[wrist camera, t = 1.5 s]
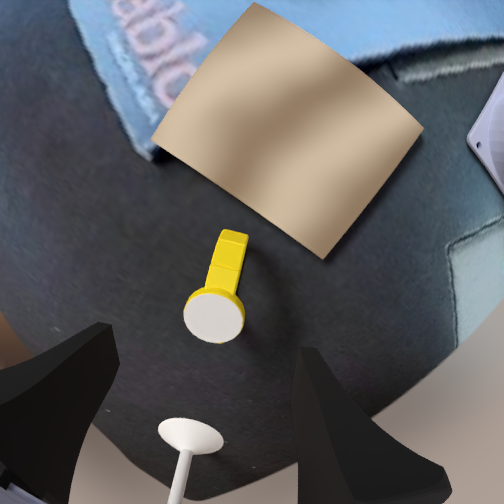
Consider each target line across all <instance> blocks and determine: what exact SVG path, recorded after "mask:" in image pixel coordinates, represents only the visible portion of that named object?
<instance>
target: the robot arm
mask: <svg viewBox="0 0 504 504" xmlns="http://www.w3.org/2000/svg"><path fill="white" fill-rule="evenodd" d="M467 143H468V145H469V146H470V147H471V149H472V150H473V151H474V153H475V154H476V155H477V157H478V158H479V159H480V161H481V162H482V163H483V165H484V166H485V168H486V169H487V170H488V172H489V173H490V175H491V176H492V178H493V179H494V181H495V182H496V184H497V185H498V187H499V188H500V190H501V191H502V193H503V195H504V72H503V74H502V76H501V78H500V80H499V81H498V83H497V85H496V87H495V89H494V91H493V93H492V94H491V96H490V98H489V100H488V102H487V103H486V105H485V107H484V109H483V110H482V112H481V114H480V115H479V117H478V119H477V120H476V122H475V124H474V125H473V127H472V129H471V130H470V132H469V133H468V135H467ZM477 143H478V149H477V146H476V144H477ZM119 365H120V362H119V357H118V353H117V349H116V344H115V339H114V335H113V330H112V325H111V324H106V323H101V322H98V323H96V324H94V325H92V326H90V327H88V328H86V329H85V330H83V331H81V332H79V333H78V334H76V335H74V336H73V337H71V338H69V339H67V340H66V341H64V342H62V343H61V344H59V345H57V346H55V347H53V348H51V349H50V350H48V351H46V352H44V353H42V354H40V355H38V356H36V357H34V358H32V359H30V360H28V361H25V362H22V363H20V364H17V365H15V366H12V367H8V368H5V369H2V370H0V504H68V502H69V495H70V488H71V483H72V479H73V475H74V470H75V466H76V463H77V459H78V456H79V453H80V450H81V446H82V444H83V441H84V438H85V436H86V433H87V430H88V428H89V426H90V424H91V422H92V420H93V418H94V417H95V415H96V413H97V411H98V409H99V407H100V406H101V404H102V402H103V400H104V398H105V396H106V395H107V393H108V391H109V389H110V387H111V385H112V383H113V381H114V378H115V376H116V373H117V370H118V368H119ZM291 411H292V419H293V427H294V434H295V442H296V450H297V459H298V504H442V503H444V502H445V501H446V500H447V499H448V498H449V496H450V495H451V493H452V488H451V485H450V482H449V479H448V476H447V474H446V472H445V470H444V468H443V467H442V466H440V465H438V464H436V463H434V462H432V461H430V460H428V459H426V458H424V457H422V456H420V455H418V454H417V453H415V452H413V451H412V450H410V449H409V448H407V447H405V446H404V445H402V444H401V443H399V442H398V441H397V440H395V439H394V438H393V437H392V436H390V435H389V434H388V433H386V432H385V431H384V430H382V429H381V428H380V427H379V426H378V425H377V424H376V423H375V422H373V421H372V420H371V419H370V418H369V417H368V416H367V415H366V414H365V413H364V412H363V411H362V410H361V408H360V407H359V406H358V405H357V404H356V403H355V402H354V400H353V399H352V398H351V397H350V396H349V394H348V393H347V392H346V391H345V389H344V388H343V387H342V385H341V384H340V383H339V381H338V380H337V379H336V377H335V376H334V374H333V373H332V371H331V370H330V368H329V367H328V365H327V364H326V362H325V361H324V359H323V358H322V356H321V354H320V353H319V351H318V350H317V349H316V348H305V347H300V348H299V352H298V357H297V362H296V367H295V371H294V376H293V380H292V385H291Z"/></svg>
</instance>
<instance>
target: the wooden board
mask: <svg viewBox="0 0 504 504" xmlns="http://www.w3.org/2000/svg"><path fill="white" fill-rule="evenodd" d="M423 129H424V128H423V127H422V126H421V125H420V124H419V123H418V122H417V121H416V120H415V119H414V118H413V117H412V116H411V115H410V114H409V113H408V112H407V111H406V110H405V109H404V108H403V107H402V106H401V105H400V104H399V103H398V102H397V101H396V100H394V99H393V98H392V97H391V96H390V95H389V94H388V93H387V92H386V91H384V90H383V89H382V88H381V87H380V86H379V85H377V84H376V83H375V82H374V81H373V80H372V79H370V78H369V77H368V76H367V75H365V74H364V73H363V72H362V71H361V70H359V69H358V68H357V67H355V66H354V65H353V64H352V63H350V62H349V61H348V60H346V59H345V58H344V57H342V56H341V55H340V54H338V53H337V52H335V51H334V50H333V49H331V48H330V47H328V46H327V45H326V44H324V43H323V42H321V41H320V40H318V39H317V38H315V37H314V36H312V35H311V34H309V33H307V32H306V31H304V30H303V29H301V28H300V27H298V26H296V25H295V24H293V23H291V22H290V21H288V20H286V19H285V18H283V17H281V16H279V15H278V14H276V13H274V12H272V11H270V10H268V9H267V8H265V7H263V6H261V5H259V4H257V3H255V2H253V3H252V5H251V6H250V7H249V8H248V9H247V10H246V11H245V12H244V13H243V14H242V15H241V17H240V18H239V19H238V20H237V21H236V22H235V23H234V25H233V26H232V27H231V28H230V29H229V30H228V32H227V33H226V34H225V35H224V36H223V38H222V39H221V40H220V41H219V42H218V44H217V45H216V46H215V47H214V49H213V50H212V51H211V52H210V54H209V55H208V56H207V57H206V59H205V60H204V61H203V63H202V64H201V65H200V67H199V68H198V69H197V71H196V72H195V73H194V75H193V76H192V77H191V79H190V80H189V82H188V83H187V84H186V86H185V87H184V89H183V90H182V92H181V93H180V94H179V96H178V97H177V99H176V100H175V102H174V103H173V105H172V106H171V108H170V109H169V111H168V112H167V114H166V115H165V117H164V118H163V120H162V122H161V123H160V125H159V126H158V128H157V130H156V131H155V133H154V134H153V136H152V138H151V139H150V140H151V141H153V142H154V143H156V144H157V145H159V146H160V147H162V148H163V149H165V150H166V151H168V152H170V153H171V154H173V155H174V156H176V157H177V158H179V159H180V160H182V161H183V162H185V163H186V164H188V165H189V166H191V167H192V168H194V169H195V170H197V171H198V172H200V173H201V174H203V175H204V176H205V177H207V178H208V179H210V180H211V181H213V182H214V183H216V184H217V185H219V186H220V187H222V188H223V189H225V190H226V191H227V192H229V193H230V194H232V195H233V196H235V197H236V198H238V199H239V200H240V201H242V202H243V203H245V204H246V205H248V206H249V207H250V208H252V209H253V210H255V211H256V212H258V213H259V214H260V215H262V216H263V217H265V218H266V219H268V220H269V221H270V222H272V223H273V224H275V225H276V226H277V227H279V228H280V229H282V230H283V231H284V232H286V233H287V234H288V235H290V236H291V237H293V238H294V239H295V240H297V241H298V242H300V243H301V244H302V245H304V246H305V247H306V248H308V249H309V250H311V251H312V252H313V253H315V254H316V255H317V256H319V257H320V258H321V259H324V258H325V256H326V255H327V254H328V253H329V252H330V250H331V249H332V248H333V247H334V246H335V244H336V243H337V242H338V241H339V240H340V238H341V237H342V236H343V235H344V233H345V232H346V231H347V230H348V228H349V227H350V226H351V225H352V224H353V222H354V221H355V220H356V219H357V217H358V216H359V215H360V213H361V212H362V211H363V210H364V208H365V207H366V206H367V205H368V203H369V202H370V201H371V199H372V198H373V197H374V196H375V194H376V193H377V192H378V190H379V189H380V188H381V186H382V185H383V184H384V183H385V181H386V180H387V179H388V177H389V176H390V175H391V173H392V172H393V171H394V169H395V168H396V167H397V165H398V164H399V163H400V161H401V160H402V158H403V157H404V156H405V154H406V153H407V152H408V150H409V149H410V147H411V146H412V145H413V143H414V142H415V140H416V139H417V138H418V136H419V135H420V133H421V132H422V131H423Z"/></svg>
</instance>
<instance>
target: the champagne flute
mask: <svg viewBox="0 0 504 504" xmlns="http://www.w3.org/2000/svg"><path fill="white" fill-rule="evenodd" d="M158 431H159V434H160V435H161V437H162V438H163V439H164V440H165V441H166V442H167V443H169V444H170V445H171V446H173V447H174V448H176V449H177V450H179V451H181V452H180V456H179V460H178V464H177V468H176V472H175V476H174V480H173V484H172V488H171V492H170V496H169V500H168V504H182V499H183V495H184V491H185V486H186V482H187V477H188V473H189V468H190V464H191V459H192V455H195V454H207V453H213V452H215V451H218V450H219V449H221V447H222V446H223V443H224V442H223V438H222V436H221V435H220V434H219V432H217V431H216V430H215V429H214V428H212V427H210V426H208V425H206V424H204V423H201V422H198V421H195V420H191V419H185V418H172V419H167V420H165V421H163V422H162V423H161V424H160V425H159V427H158Z"/></svg>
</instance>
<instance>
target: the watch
mask: <svg viewBox="0 0 504 504" xmlns="http://www.w3.org/2000/svg"><path fill="white" fill-rule="evenodd" d="M247 242H248V235H247V234H243V233H239V232H235V231H230V230H226V229H224V230H222V232H221V234H220V237H219V239H218V242H217V244H216V248H215V251H214V254H213V257H212V260H211V265H210V268H209V272H208V276H207V280H206V284H205V287H204V288H201V289H199V290H197V291H195V292H194V293H193V294H192V295H191V296H190V297H189V299H188V301H187V303H186V306H185V309H184V321H185V323H186V326H187V328H188V329H189V330H190V331H191V332H192V334H194V335H195V336H197V337H198V338H199V339H202V340H205V341H207V342H213V343H219V344H222V343H223V342H226V341H229V340H231V339H233V338H235V337H236V336H237V335H238V334H239V333H240V332H241V330H242V328H243V326H244V319H245V310H244V307H243V304H242V302H241V301H240V300H239V298H238V297H237V296H236V295H235V293H236V289H237V285H238V281H239V276H240V272H241V268H242V264H243V259H244V255H245V251H246V246H247Z"/></svg>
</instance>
